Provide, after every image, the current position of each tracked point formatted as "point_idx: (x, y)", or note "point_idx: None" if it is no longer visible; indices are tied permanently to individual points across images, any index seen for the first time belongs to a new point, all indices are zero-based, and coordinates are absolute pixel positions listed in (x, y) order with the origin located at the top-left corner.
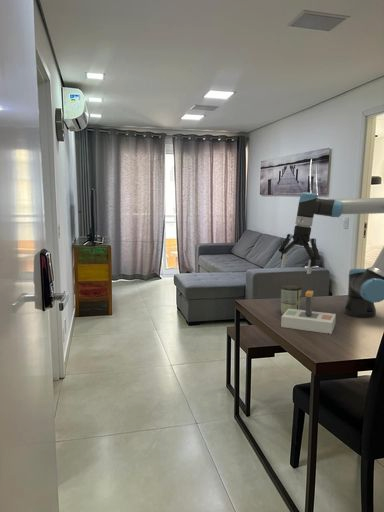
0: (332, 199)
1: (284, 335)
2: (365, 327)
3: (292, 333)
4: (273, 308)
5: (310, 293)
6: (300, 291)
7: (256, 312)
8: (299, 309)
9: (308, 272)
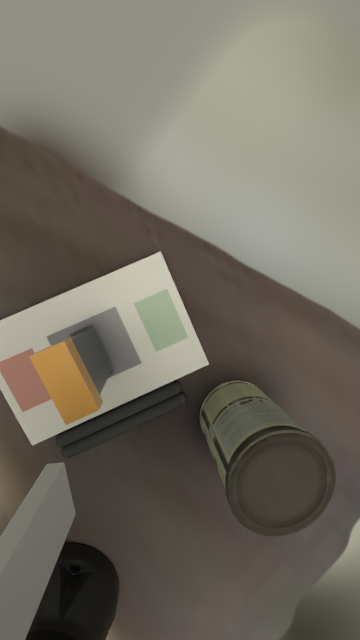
0: None
1: (95, 190)
2: None
3: (89, 229)
4: (307, 407)
5: (34, 354)
6: (223, 483)
7: (321, 323)
8: (203, 429)
9: (39, 479)
